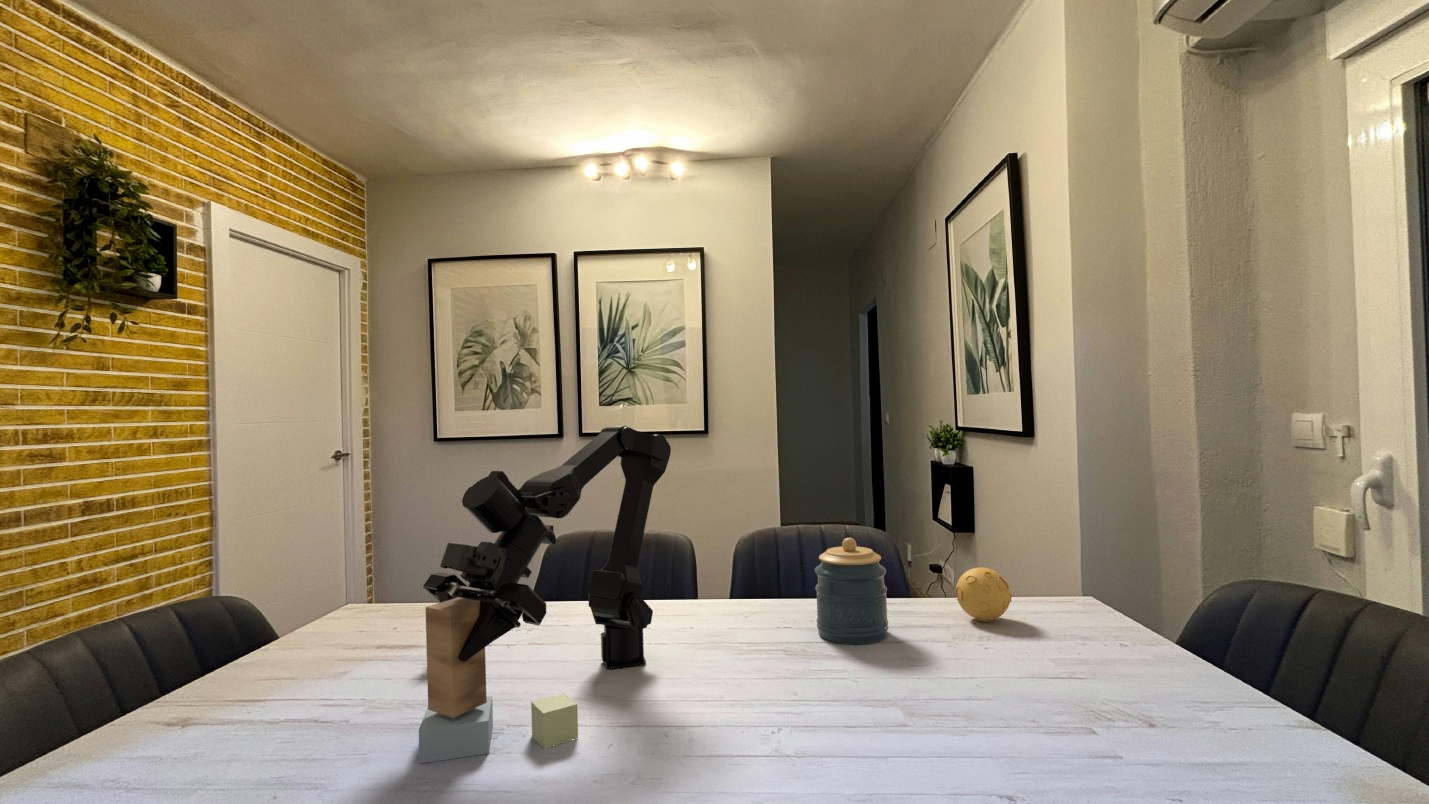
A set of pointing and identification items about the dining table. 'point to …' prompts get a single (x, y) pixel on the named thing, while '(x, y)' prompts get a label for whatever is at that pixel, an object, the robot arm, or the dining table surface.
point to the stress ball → (983, 594)
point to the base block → (456, 734)
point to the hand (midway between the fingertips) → (447, 656)
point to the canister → (851, 595)
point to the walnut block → (453, 658)
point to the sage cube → (554, 720)
